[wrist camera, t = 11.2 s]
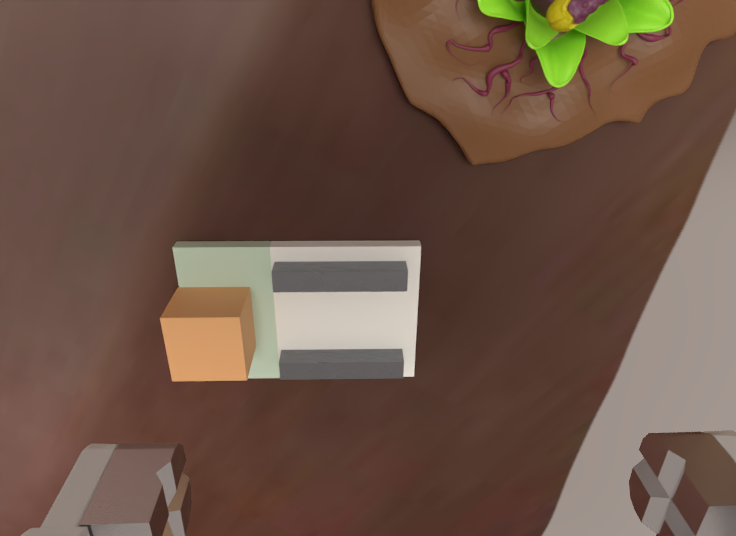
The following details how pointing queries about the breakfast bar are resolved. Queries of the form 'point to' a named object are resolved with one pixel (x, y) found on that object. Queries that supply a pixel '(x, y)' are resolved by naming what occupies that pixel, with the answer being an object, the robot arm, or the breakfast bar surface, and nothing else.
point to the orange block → (209, 333)
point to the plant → (543, 64)
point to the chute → (318, 303)
